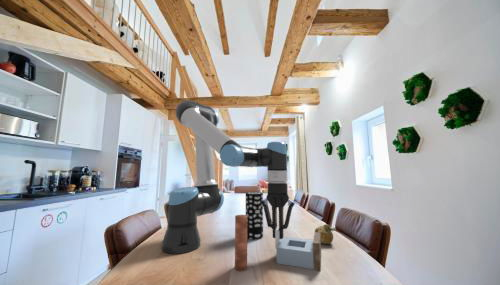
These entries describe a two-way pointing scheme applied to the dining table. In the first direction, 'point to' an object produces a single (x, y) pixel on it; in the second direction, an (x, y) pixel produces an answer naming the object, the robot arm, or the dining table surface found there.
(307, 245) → the socket block
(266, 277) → the dining table surface
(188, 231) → the robot arm
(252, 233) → the white-spotted black cylinder
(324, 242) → the onion
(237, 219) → the dowel
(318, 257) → the walnut wall
